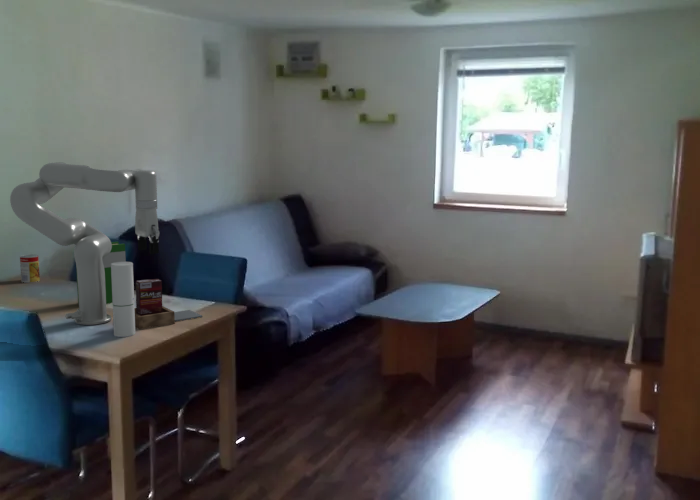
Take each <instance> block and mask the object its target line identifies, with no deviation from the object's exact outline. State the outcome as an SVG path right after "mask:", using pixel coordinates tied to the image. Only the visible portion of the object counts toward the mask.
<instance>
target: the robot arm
mask: <svg viewBox="0 0 700 500" xmlns="http://www.w3.org/2000/svg"><path fill="white" fill-rule="evenodd" d="M38 176H39V177H38V178H37V179H36V180H35V181H31V182H24V183H21V184H18V185H16V186H15V187H14V188H12V190H11V193H10V197H9V198H10V199H9V201H10V207H11V209H12V211H13V213H14V215H15V216H16V217H17V218H19V220H20V221H22V222H23V223H25V224H26V225H28V226H30V227H31V228H33V229H34V230H35V231H37V232H39V233H40V234H42V235H43V236H45V237H46V238H48V239H50V240H51V241H53V242H55V243H56V244H58V246H59V245H60V246H62V247H68V246H70V245H74V250H73V256H74V261H75V265H76V267H77V271H76V280H77V279H78V291H77V297H78V296H79V304H78V308H77V309H76V311H74V312H69V313H68V312H67V313H65V319H67V320H68V319H71V320H74V321H75V323H76V324H78V325H80V326H81V325H84V326H94V325H101V324H107V323H109V322H110V321H111V320H112V316H111V315H110V314H108V313H107V311H108V310H107V304H106V287H105V270H104V265H103V261H102V258H104V257H105V256H107V255H108V254H109V253H110V251H111V249H112V244H111V242H112V240H111V239H110V238H109V236H107V235H106V234H105V233H104V232H103V231H100V230H99V229H97V228H96V227H94V226H93V225H91V224H90V223H88V222H86V221H84V220H82V219H80V218H78V217H77V218H76V217H69V218H64V217H61V216H60V215H58V214H56V213H55V212H53V211H51V210H50V209H48V208H46V207H44V206H41V205H43V204H45V203H47V202H49V201H50V200H51V199H52V198H54V197H55V196H56V195H57V194H59V193H60V192H61V191H62V190H64V188H65V189H66V188H67V189H78V190H79V189H80V190H88V191H98V192H107V193H108V192H109V193H122V192H123V193H124V192H127V191H132V190H133V191H134V196H135V197H134V198H135V199H134V200H135V217H134V218H135V223H134V226H135V227H134V231H135V235H136V237H137V250H138V251H146V250H147V249H148V247H149V254H150V255H153V254H154V255H155V254H159V253H160V251H159V242H160V240H159V239H160V230H159V220H158V212H157V209H158V188H157V187H158V186H157V185H158V184H157V183H158V182H157V174H156V172H155V171H154V170H132V169H121V170H107V169H106V170H105V169H96V168H92V167H90V166H88V165H84V164H72V163H71V164H69V163H68V164H67V163H65V162H61V161H59V162H49V163H46V164H43V166H42V167H40V169H39V173H38ZM147 238H149V239H148V240H149V243H147V242H148V241H147ZM148 244H149V245H148ZM147 245H148V247H147ZM76 267H75V268H76Z"/></svg>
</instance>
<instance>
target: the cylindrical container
mask: <svg viewBox="0 0 700 500" xmlns="http://www.w3.org/2000/svg"><path fill="white" fill-rule="evenodd" d="M111 278H112V302H113V303H112V317H113V319H112V321H113V336H114V337H119V338H121V337H122V338H125V337H132V336H134V335H135V334H136V327H135V309H134V308H135V290H134V289H135V286H134V284H135V283H134V282H135V281H134V263H133V262H132V261H126V262H114V263H111Z"/></svg>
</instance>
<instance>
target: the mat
mask: <svg viewBox="0 0 700 500" xmlns="http://www.w3.org/2000/svg"><path fill="white" fill-rule="evenodd" d="M174 316H175V322H176V323H177V322H181V321H180V320H182V321H187V320H186V319H188V320H192V319H191V318H194V319H198V318H197V317H200V318H203V315H202V314H200V313H198V312H195V311H193V310H191V309H187V310H180V311H174Z"/></svg>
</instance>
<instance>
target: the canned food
mask: <svg viewBox="0 0 700 500" xmlns="http://www.w3.org/2000/svg"><path fill="white" fill-rule="evenodd" d="M39 259H40V258H39V254H32V253H31V254H22V255H20V256H19V264H20V279H21V280H20V282H21V283H23V282H24V283H25V284H29V283H31V282H33V283H38V282H40V281H41V280H40V277H41V276H40V260H39ZM37 281H38V282H37ZM24 283H23V284H24Z"/></svg>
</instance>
